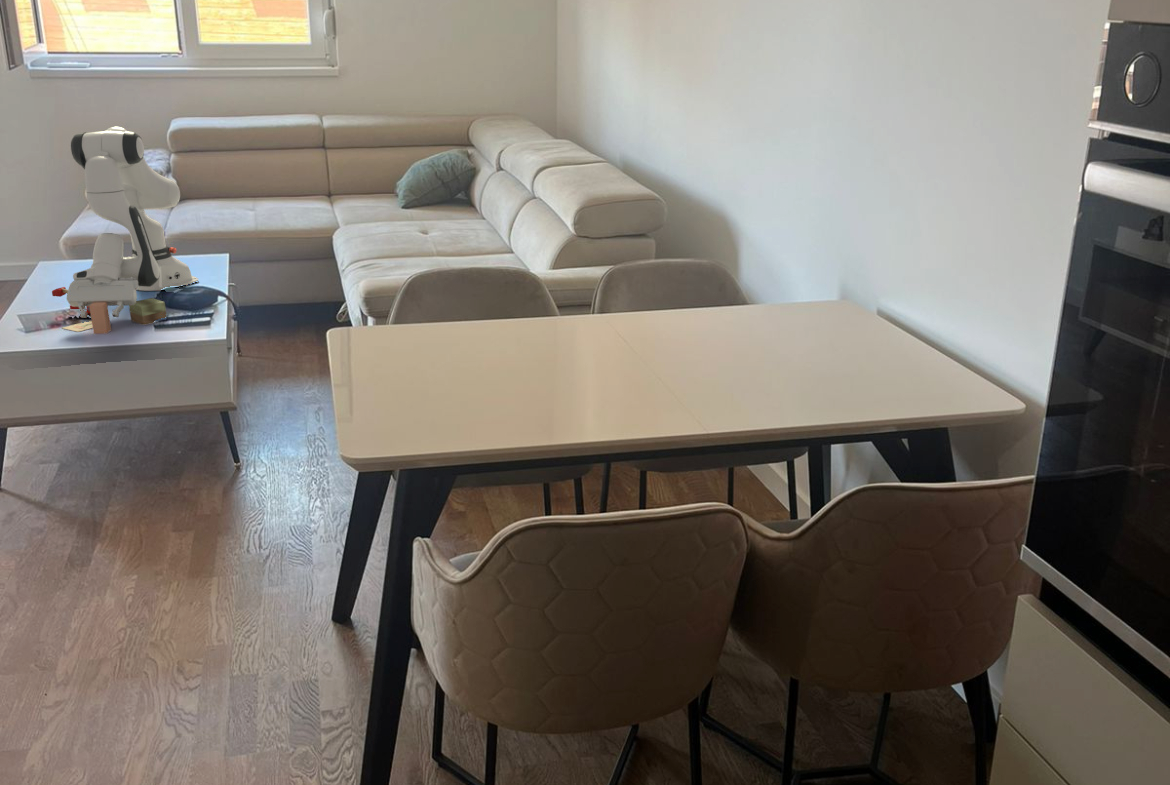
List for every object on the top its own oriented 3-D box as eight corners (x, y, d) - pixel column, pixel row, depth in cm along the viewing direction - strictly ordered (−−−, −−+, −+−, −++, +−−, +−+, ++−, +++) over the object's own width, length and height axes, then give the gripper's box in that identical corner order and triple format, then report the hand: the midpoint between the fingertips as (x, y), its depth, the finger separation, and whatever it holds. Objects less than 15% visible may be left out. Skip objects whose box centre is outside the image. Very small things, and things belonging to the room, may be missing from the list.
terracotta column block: (98, 330, 335) (93, 302, 331) (111, 329, 335) (106, 301, 332) (93, 333, 331) (89, 305, 328) (107, 333, 331) (102, 305, 328)
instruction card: (89, 320, 344) (89, 320, 344) (106, 324, 340) (105, 323, 340) (61, 328, 336) (61, 327, 336) (78, 332, 332) (78, 331, 332)
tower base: (154, 315, 350) (151, 297, 348) (167, 319, 345) (164, 302, 343) (131, 320, 344) (128, 302, 342) (143, 325, 340) (141, 306, 338)
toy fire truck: (96, 319, 346) (91, 290, 343) (55, 318, 347) (50, 289, 344) (101, 316, 349) (96, 287, 346) (61, 315, 351) (56, 286, 347)
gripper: (141, 282, 340) (137, 320, 334) (75, 284, 338) (69, 322, 332) (135, 272, 334) (130, 310, 329) (68, 273, 333) (61, 312, 327)
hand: (99, 316), depth 330 cm, fingers open, 8 cm apart
